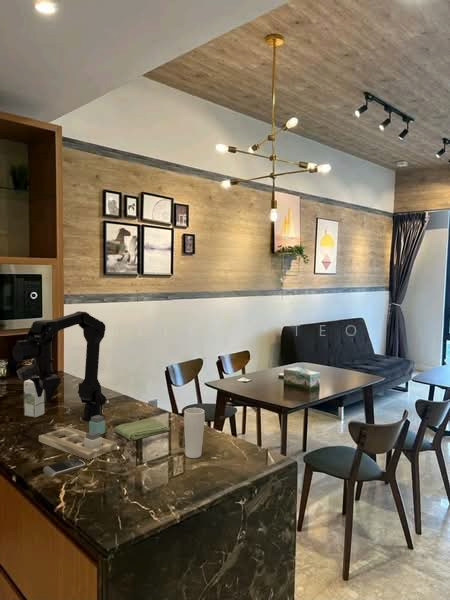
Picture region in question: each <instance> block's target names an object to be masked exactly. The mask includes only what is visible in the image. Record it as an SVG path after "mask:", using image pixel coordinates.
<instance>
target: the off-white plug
mask: <svg viewBox="0 0 450 600" xmlns="http://www.w3.org/2000/svg"><path fill="white" fill-rule="evenodd" d="M102 438H103V437H102V436H101V434H100V433H99V432H96V431H92V432H89V431H88V432H86V438H84V447H86V448H88V449H91V450H92V449H95V448H98V447H100V446H102Z"/></svg>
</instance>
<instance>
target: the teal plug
mask: <svg viewBox="0 0 450 600" xmlns="http://www.w3.org/2000/svg"><path fill="white" fill-rule="evenodd" d="M103 416H104V415H102V416H100V415H96V416H93V417H91V421H89V420H88V422H89V423H88V428H89V429H88V433H89V432H92V431H96V432H99V433H100V435H102V434H104V433H106V420H104V417H103Z"/></svg>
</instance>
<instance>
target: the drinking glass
mask: <svg viewBox="0 0 450 600" xmlns="http://www.w3.org/2000/svg"><path fill="white" fill-rule="evenodd" d="M183 413H184V414H183V429H184V432H183V433H184V444H185V445H184V446H185V447H184V448H185V451H184V454H185V456H186V457H187V458H188V459H198V458H200V457H202V453H203V450H202V449H203V440H204V431H205V430H204V429H205V422H206V419H205V417H206V416H205V413H206V412H205V410H204V409H203V408H201V407H200V408H199V407H190V408H189V407H188V408H186V409H184V411H183Z"/></svg>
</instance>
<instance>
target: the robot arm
mask: <svg viewBox="0 0 450 600" xmlns="http://www.w3.org/2000/svg"><path fill="white" fill-rule="evenodd" d="M76 325H78V326H79V328H81V329H82V331H83V332H82V333H83V334H82V335H83V337H84V340H85V342H86V351H85V353H86V354H85V367H84V368H85V369H84V378H83V380H82V382H79V383H78V391H77V394H78V398H79V399H80V401H81V402H80V403H82V404H84V407H83V408H84V409H83V416H81V418H82V419H84V420H87V421H88V422H89V421H91V417H93V416H96V415H100V416H103V417H104V418H105V415H103V406H104V405H105V404H106V402H107V397H106V396H105V395H104V394H103V393H102V386H101V382H100V380H99V379H98V376H99V374H98V373H99V362H100V361H99V360H100V347H101V346H100V344H101V342H102V340H103V339H104V337H105V334H106V324H105V322H103V321H101V320H99V319H98V318H96V317H95V316H92V315H91V313H88V312H86V311H75V312H73V313H71V314H67V315H65V316H64V315H63V316H60V317H57V318H54V319H41V320H35V321H33V322H32V325H31V327H30V329H28V332H27V334H26V336H25V337H24V339H23V340H16V344H15V345H14V346H13V347H12V350H11V354H12V357H13V359H14V361H16V363H17V362H19V363H20V362H25V361H28V360H31V364H27V365H26V366H23V367H21V368H19V369H17V370H16V374H17V376H18V379H19V380H20V381H22V382H24V381H26V380H29V379H30V380H31V381H33V383H34V386H35V389H36V392H37V396H38V397H41V396H42V393H43V389H44V400H45V403H46V404H50V403H51V401H52V399H53V396H54V395H55V393H56V390H57V389H58V387H59V386H60V385H61V384H62V377H60V376H59V375H57V374H56V373H55V374H54V372H55V371H54V369H53V363H54V359H53V358H52V357H53V356H52V355H53V352H52V351H53V350H52V349H53V347H52V344H54V343H57V339H56V338H54V336H56V335H57V334H58V333H59V332H61V331H62V330H65V329H68V328H71V327H73V326H76Z"/></svg>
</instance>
